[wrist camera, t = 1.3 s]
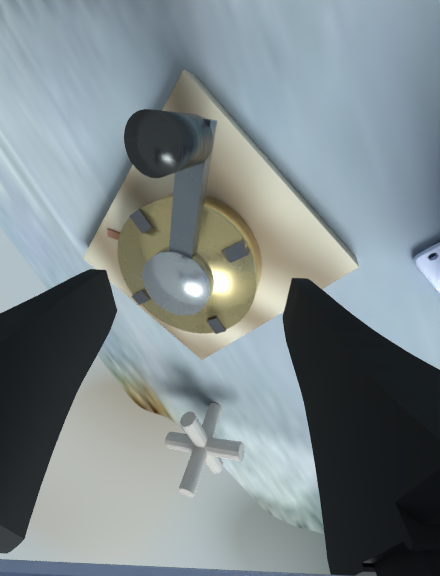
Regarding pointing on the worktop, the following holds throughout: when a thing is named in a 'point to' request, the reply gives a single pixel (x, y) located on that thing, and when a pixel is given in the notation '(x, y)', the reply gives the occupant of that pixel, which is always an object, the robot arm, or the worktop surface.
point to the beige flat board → (248, 205)
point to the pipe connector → (202, 447)
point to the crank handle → (185, 231)
